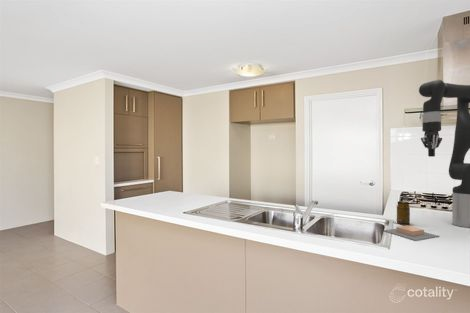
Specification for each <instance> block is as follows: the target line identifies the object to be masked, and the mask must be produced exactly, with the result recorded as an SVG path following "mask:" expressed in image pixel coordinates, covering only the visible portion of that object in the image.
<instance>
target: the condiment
mask: <svg viewBox="0 0 470 313" xmlns="http://www.w3.org/2000/svg"><path fill="white" fill-rule="evenodd" d="M410 210H411V207H410V202H409V201H404V200H398V201H397V205H396V221H393V223H394V224H397V223H398V225H400V226H406V225H409V226H412V227H414V226H416V224H414V223H411V222H410V221H411V216H410V215H411V214H410V213H411V211H410ZM395 222H397V223H395ZM402 224H403V225H402Z"/></svg>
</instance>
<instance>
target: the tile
mask: <svg viewBox="0 0 470 313" xmlns="http://www.w3.org/2000/svg"><path fill="white" fill-rule="evenodd" d="M395 229H396V232H399V233H403V234H406V235H410V236H417V235H423V234H424V232H425V229H424V228H420V227H415V226H409V225H406V226H405V225H400V226H396V228H395Z"/></svg>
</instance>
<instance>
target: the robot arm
mask: <svg viewBox="0 0 470 313" xmlns="http://www.w3.org/2000/svg"><path fill="white" fill-rule="evenodd" d="M418 93H419V95H420V96H422V97H423V98H430V99H428V100H426V101H424V102H423V104H422V125H421V126H422V127H421V128H422V132H424V136H423V137H421V138H420V141H421V142H422V144H423V147H424V148H426V149H427V151H428V152H427V153H428V154H427V155H428V157H430V158H431V157H436V150H437V148H439V146H441V145H440V144H441V142H442V141H443V138H442V137H440V134H439V132H440V131H442V113H441V111H442V110H441V106H442V105H441V104H442V101H443V99H444V98H445V99H452V98H453V99H455V98H456V99H457V100H456V107H457V108H456V122H455V130H454V138H453V139H454V140H453V147H452V154H451V157H450V162H449V166H448V175H449V177H450V178H451V179H452V180H455V181H461V182H460V184H459V185H456V186H453V187H452V216H451V217H452V219H451V221H452V223H451V224H452V225H454V226H458V227H464V228H470V163H469V162H468V163H467V162H465V157H466V155H467V153H468V151H469V150H470V110H469V109H470V108H469V106H470V105H469V104H470V84H467V85H466V84H455V83H449V82H444V81H443V80H442V79H436V80H432V81H427V82H424V83H422V84H421V85H419V87H418Z"/></svg>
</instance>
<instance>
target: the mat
mask: <svg viewBox="0 0 470 313" xmlns="http://www.w3.org/2000/svg"><path fill="white" fill-rule="evenodd" d="M382 232H384V233H388V234H391V235H394V236H398V237H401V238H405V239H408V240H410V241H413V242H417V241H422V240H423V241H424V240H430V239H435V237H436V238H440V235H437V234H433V233H429V232H426V231H424V234H423V235H417V236H410V235H406V234H403V233H399V232H396V228H391V229H384V230H383V231H382ZM429 238H430V239H429Z"/></svg>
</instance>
